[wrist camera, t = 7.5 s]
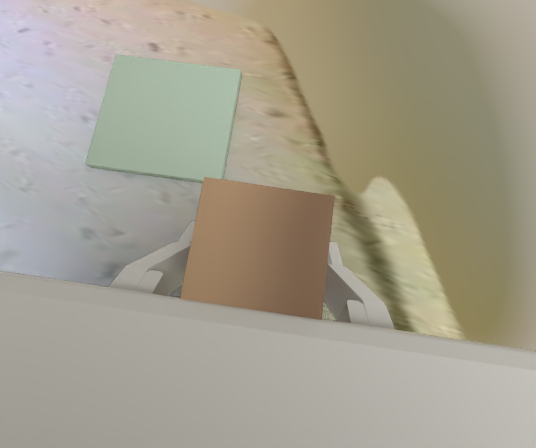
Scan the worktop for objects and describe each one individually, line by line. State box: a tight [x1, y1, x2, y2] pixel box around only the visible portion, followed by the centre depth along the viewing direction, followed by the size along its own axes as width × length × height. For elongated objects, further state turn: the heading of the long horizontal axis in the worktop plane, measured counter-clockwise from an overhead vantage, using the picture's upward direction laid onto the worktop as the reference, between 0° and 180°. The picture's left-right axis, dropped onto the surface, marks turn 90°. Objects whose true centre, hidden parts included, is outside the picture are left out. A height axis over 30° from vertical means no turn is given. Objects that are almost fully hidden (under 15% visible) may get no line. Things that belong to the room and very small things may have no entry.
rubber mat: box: [85, 54, 242, 183], centre depth 22 cm, size 13×12×1 cm
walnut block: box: [180, 177, 334, 320], centre depth 11 cm, size 4×4×10 cm
